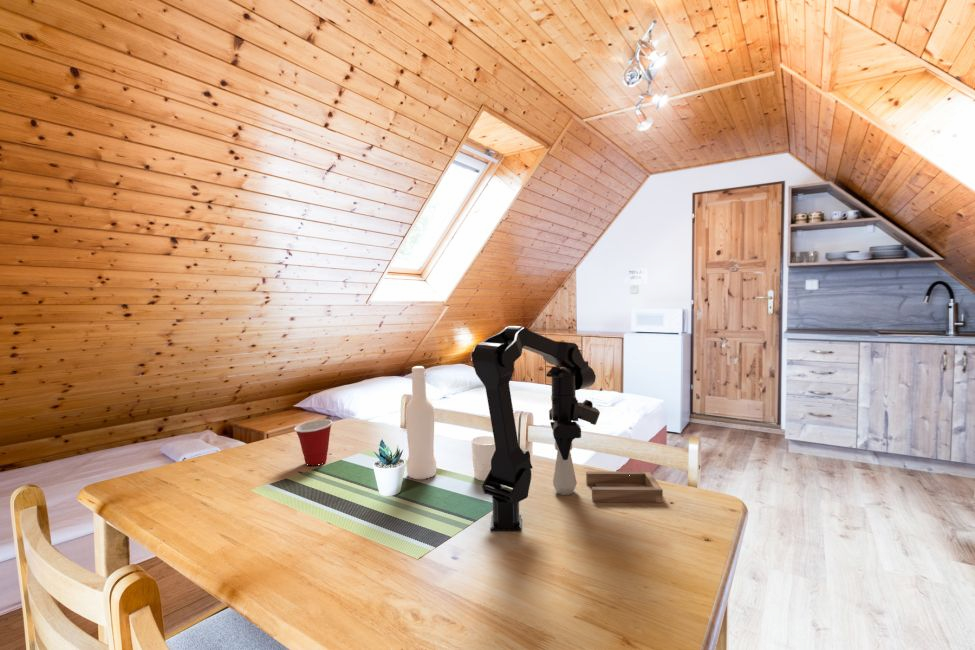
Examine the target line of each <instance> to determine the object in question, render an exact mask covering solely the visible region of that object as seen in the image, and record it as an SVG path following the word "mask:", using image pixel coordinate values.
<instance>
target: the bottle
mask: <svg viewBox="0 0 975 650" xmlns="http://www.w3.org/2000/svg"><path fill="white" fill-rule="evenodd" d="M425 371H426V370H425V367H424V366H423V365H416V366H413V367H412V368H411V378H412V379H411V381H412V382H411V384H412V388H411V389H412V397H411V399H410V400H409V402H408V403H407V404H406V407H405V411H404V413H405V414H404V415H405V426H406V435H407V436H406V437H407V438H406V439H407V446H408V447H407V449H408V458H407V461H406V473H407V475H408V477H409V478H410V479H412V478H413V480H426V478H428V479H430V477H431V478H432V477H434V476H435V474H436V473H437V467H438V466H437V459H436V457H435V453H434V445H435V444H434V443H435V442H434V441H435V409H434V405H433V403H432V401H430V399H429V398H428V397H427V387H426V373H425Z"/></svg>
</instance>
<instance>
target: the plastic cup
mask: <svg viewBox="0 0 975 650" xmlns="http://www.w3.org/2000/svg"><path fill="white" fill-rule="evenodd" d="M332 425H333V421H332V419H331V420H330V419H316V420H310V421H306V422H302V423H300V424H298V425H296V426H295V427H294V429H293V430H294V431H295V432H296V434H297V438H298V441H299V444H300V446H301V451H302V455H303V459H304V463H305V465H306V464H308V465H318V464H322V463H324V464H326V463H325V462H327V459H328V452H329V445H330V435H331V434H330V433H331V428H332ZM322 465H323V464H322Z"/></svg>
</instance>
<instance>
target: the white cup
mask: <svg viewBox="0 0 975 650" xmlns="http://www.w3.org/2000/svg"><path fill="white" fill-rule="evenodd" d="M494 452H495V442H494V436H493V435H492V436H491V435H484V436H483V435H481V436H477V437H474V438H472V439H471V454H472V455H471V456H472V465H473V473H474V474H473V475H474V478H475V479H476V480H478V481H481V482H484V481H485V479H486V477H487V476H488V474H489V472H490V470H491V459H492V456H493V454H494Z"/></svg>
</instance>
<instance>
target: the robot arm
mask: <svg viewBox="0 0 975 650" xmlns="http://www.w3.org/2000/svg"><path fill="white" fill-rule="evenodd" d="M523 349H524V350H526V351H529V352H531V353H534V354H537V355H540V356H542V359H543V360H544V361H545V362H547V363H548V364H550V365H553V366H551V369H549V371H547V373H546V374H545V375H546V377H547V378H548V377H549V378H551V395H550V400H551V409H550V408H549V411H548V418H549V421H551V422H550V424H549V425H550V427H551V429H552V436H553V438H554V442H556V443H557V446H558V448H559V451H560V453H561V456H562V458H563V460H568V456H569V452H570V453H571V450H570V448H571V443H572V444H573V441H574V440H575V439H580V438H582V428H581V426H580V425H579V424H578V422H579V419H580V420H582V421H585V422H587V423H590V424H591V425H594V426H595V425H597V423H598V419H599V417H600V414H601V411H600V410H599V409H598V408H596V407H594V406H593V402H592V401H591V400H589V399H585V400H583V402H579V401H578V399H577V397H576V391H579V390H582V389H586V388H590V387H591V386H593V385H594V384H595V382H596V376H597V375H596V374H595V371H594V369H593V368H592V367H591V366H589V361H585V359H584V357H583V355H582V352H581V350H580V349H579V346H578V344H577V343H575V342H568V341H557V340H556V341H555V340H553V339H551V338H548V337H546V336H545V335H544V336H543V335H542V334H539V333H537V332H534V331H532V330H530V329H528V328H527V327H526V326H517V325H509V326H506V327H505V328H503V329H502V330H501V331H499V332H498V333H496V334H495V335H491V336H489V337H488V338H486V339H484V340H483V341H482V342H479V343H477V344H476V346H475V347H474V349H473V350H472V352H471V362H472V365H473V368H474V371H475V374H476V377H478V379H479V380H480V381H481V383H482V384H483V386H484V388H485V393H486V399H487V404H488V411H489V416H490V417H489V418H490V422H491V423H490V424H491V429H492V436H494V442H495V452H494V454H493V456H492V459H491V470H490V472H489V474H488V476H487V477H486V479H485V481H483V483H482V485H481V487H482V492H483V494H484V495H488V496H491V498H492V499H491V500H492V503H491V504H492V505H491V506H492V514H491V519H490V525H489V527H490V529H489V530H490V531H511V532H512V531H513V532H514V531H522V514H520V502H521V501H523V500H525V499H527V498H528V496H529V492H530V491H529V490H530V488H531V487H530V486H531V480H532V469H533V465H532V461H531V454H530V451H529V450H527V449H523V448H521V447H520V445H519V440H518V433H517V427H516V419H515V415H514V414H515V413H514V408H513V402H512V395H511V389H510V381H511V378H512V377H513V374H514V372H515V362H516V361H517V360H518V359H519V358H521V356H522V352H523Z"/></svg>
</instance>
